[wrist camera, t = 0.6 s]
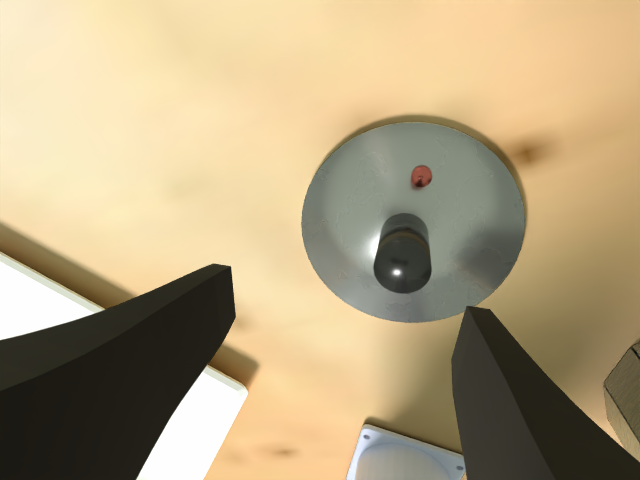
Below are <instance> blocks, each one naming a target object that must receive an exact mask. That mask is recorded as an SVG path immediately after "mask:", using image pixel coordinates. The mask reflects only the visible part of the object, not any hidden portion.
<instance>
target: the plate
mask: <svg viewBox="0 0 640 480" xmlns="http://www.w3.org/2000/svg"><path fill="white" fill-rule="evenodd" d="M103 310H105V308H103V307H101V306H99V305H97V304H95V303H94V302H92V301H90V300H88V299H86V298H84V297H83V296H81V295H79V294H77V293H75V292H73V291H72V290H70V289H68V288H66V287H64V286H62V285H61V284H59V283H57V282H55V281H53V280H51V279H50V278H48V277H46V276H44V275H42V274H40V273H39V272H37V271H35V270H33V269H31V268H29V267H28V266H26V265H24V264H22V263H20V262H18V261H17V260H15V259H13V258H11V257H9V256H7V255H6V254H4V253H2V252H0V340H2V339H7V338H11V337H15V336H19V335H23V334H27V333H31V332H34V331H38V330H42V329H45V328H49V327H52V326H56V325H60V324H63V323H67V322H70V321H73V320H76V319H79V318H82V317H85V316H88V315H91V314H94V313H97V312H100V311H103ZM247 395H248V391H247V389H246V388H245V386H244V385H243V384H242V383H240V382H238V381H236V380H235V379H233V378H231V377H229V376H227V375H225V374H224V373H222V372H220V371H218V370H216V369H214V368H213V367H211V366H209V365H207V366H206V367H205V369H204V370H203V372H202V373H201V374H200V376H199V377H198V379H197V380H196V382H195V383H194V384H193V386H192V387H191V389H190V390H189V391H188V393H187V394H186V396H185V397H184V398H183V400H182V401H181V403H180V404H179V406H178V407H177V409H176V410H175V412H174V413H173V415H172V416H171V418H170V420H169V422H168V423H167V425H166V427H165V429H164V430H163V432H162V434H161V436H160V437H159V439H158V441H157V443H156V444H155V446H154V448H153V450H152V451H151V453H150V455H149V457H148V459H147V461H146V463H145V464H144V466H143V468H142V470H141V472H140V474H139V476H138V477H137V479H136V480H203V479H204V477H205V475H206V473H207V471H208V469H209V467H210V465H211V463H212V462H213V460H214V458H215V456H216V454H217V452H218V450H219V448H220V446H221V444H222V443H223V441H224V439H225V437H226V435H227V433H228V431H229V429H230V427H231V425H232V424H233V422H234V420H235V418H236V416H237V414H238V412H239V410H240V408H241V406H242V405H243V403H244V401H245V399H246V397H247Z"/></svg>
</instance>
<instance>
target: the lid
mask: <svg viewBox="0 0 640 480" xmlns="http://www.w3.org/2000/svg"><path fill="white" fill-rule="evenodd" d="M301 224H302V236H303V241H304V246H305V249H306V252H307V255H308V258H309V260H310V262H311V264H312V266H313V268H314V270H315V271H316V273H317V274H318V276H319V277H320V279H321V280H322V281H323V282H324V284H325V285H326V286H327V287H328V288H329V289H330V290H331V291H332V292H333V293H334V294H335V295H336V296H338V297H339V298H340V299H342V300H343V301H344V302H346V303H347V304H349V305H350V306H352V307H354V308H356V309H357V310H360V311H362V312H364V313H366V314H368V315H371V316H374V317H378V318H381V319H385V320H390V321H396V322H405V323H419V322H430V321H435V320H440V319H445V318H448V317H451V316H454V315H457V314H459V313H462V312H464V311H465V310H466V306H472V307H473V306H475V305H477V304H478V303H480V302H482V301H483V300H484V299H485V298H487V297H488V296H489V295H491V294H492V293H493V292H494V291H495V290H496V289H497V288H498V287H499V286H500V285H501V284H502V282H503V281H504V280H505V278H506V277H507V276H508V274H509V273H510V271H511V269H512V268H513V266H514V264H515V262H516V260H517V258H518V255H519V252H520V250H521V246H522V242H523V237H524V227H525V216H524V207H523V202H522V199H521V195H520V191H519V189H518V187H517V185H516V183H515V180H514V178H513V177H512V175H511V174H510V172H509V171H508V169H507V168H506V166H505V165H504V164H503V162H502V161H501V160H500V159H499V158H498V157H497V156H496V155H495V154H494V153H493V152H492V151H491V150H490V149H488V148H487V147H486V146H485V145H483V144H482V143H481V142H479V141H478V140H476V139H474V138H473V137H471V136H469V135H468V134H466V133H463V132H461V131H458V130H456V129H453V128H451V127H447V126H443V125H439V124H434V123H425V122H401V123H394V124H388V125H384V126H381V127H377V128H374V129H371V130H369V131H366V132H364V133H362V134H360V135H358V136H356V137H354V138H353V139H351V140H349V141H348V142H346V143H345V144H343V145H342V146H341V147H340V148H339V149H337V150H336V151H335V152H334V153H333V154H332V155H331V156H330V157H329V158H328V159H327V160H326V161H325V162H324V163H323V164H322V166H321V167H320V169H319V170H318V171H317V173H316V174H315V176H314V178H313V180H312V182H311V184H310V186H309V188H308V191H307V194H306V197H305V200H304V205H303V210H302V222H301Z"/></svg>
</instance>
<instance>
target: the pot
mask: <svg viewBox="0 0 640 480" xmlns="http://www.w3.org/2000/svg"><path fill="white" fill-rule="evenodd" d="M632 347H633V348H634V349H632V348H630V349H629V350H628V351H627V353H626V354H625V355H624V357H623V358H622V359H621V361H620V362H619V363H618V365H617V366H616V367H615V369H614V370H613V371H612V373H611V374H610V375H609V377H608V378H607V379H606V381H605V382H604V384H605V385H603V387H604V395H605V403H606V411H607V419H608V420H609V422H610V424H611V426H612V427H613V429H614V431H615V433H616V434H617V436H618V438H619V440H620V442H621V443H622V445H623V447H624V449H625V450H626V451H627V452H628V453H630V454H631V455H632V456H633V457H634V458H636V459H637V460H638V461H639V462H640V343H638V344H636V345H634V346H632Z"/></svg>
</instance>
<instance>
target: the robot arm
mask: <svg viewBox="0 0 640 480" xmlns="http://www.w3.org/2000/svg"><path fill="white" fill-rule="evenodd" d="M235 318H236V314H235V304H234V293H233V283H232V273H231V266H225V265H219V264H211V265H208V266H206V267H203V268H201V269H199V270H196V271H194V272H192V273H190V274H187V275H185V276H183V277H181V278H179V279H176V280H174V281H172V282H170V283H168V284H165V285H163V286H161V287H159V288H157V289H154V290H152V291H150V292H147V293H145V294H143V295H140V296H138V297H135V298H133V299H131V300H128V301H126V302H123V303H121V304H119V305H116V306H114V307H111V308H108V309H105V310H103V311H100V312H97V313H94V314H91V315H88V316H85V317H82V318H79V319H76V320H73V321H70V322H67V323H63V324H60V325H56V326H52V327H49V328H45V329H42V330H38V331H34V332H31V333H27V334H23V335H19V336H15V337H11V338H7V339H2V340H0V480H136V479H137V477H138V476H139V474H140V472H141V470H142V468H143V466H144V464H145V463H146V461H147V459H148V457H149V455H150V453H151V451H152V450H153V448H154V446H155V444H156V443H157V441H158V439H159V437H160V436H161V434H162V432H163V430H164V429H165V427H166V425H167V423H168V422H169V420H170V418H171V416H172V415H173V413H174V412H175V410H176V409H177V407H178V406H179V404H180V403H181V401H182V400H183V398H184V397H185V396H186V394H187V393H188V391H189V390H190V389H191V387H192V386H193V384H194V383H195V382H196V380H197V379H198V377H199V376H200V374H201V373H202V372H203V370H204V369H205V367H206V366H207V365H208V363H209V362H210V360H211V359H212V357H213V356H214V355H215V353H216V352H217V350H218V349H219V347H220V346H221V344H222V343H223V341H224V339H225V337H226V335H227V333H228V332H229V330H230V328H231V326H232V324H233V322H234V320H235ZM452 386H453V397H454V404H455V410H456V416H457V422H458V428H459V434H460V439H461V445H462V451H463V455H461V454H458V453H455V452H452V451H449V450H446V449H443V448H439V447H436V446H433V445H430V444H427V443H424V442H421V441H418V440H415V439H412V438H409V437H406V436H403V435H400V434H397V433H394V432H391V431H388V430H385V429H382V428H379V427H375V426H372V425H369V424H365V425H363V426H362V429H361V432H360V435H359V438H358V441H357V445H356V448H355V451H354V454H353V457H352V460H351V463H350V467H349V470H348V473H347V476H346V479H345V480H461V478H462V476H463V475H464V473H465V471H466V475H467V480H640V462H639V461H638V460H637V459H636V458H634V457H633V456H632V455H631V454H630V453H628V452H627V451H626V450H625V449H624V448H623V447H621V446H620V445H619V444H618V443H617V442H616V441H615V440H613V439H612V438H611V437H610V436H609V435H608V434H607V433H606V432H605V431H603V430H602V429H601V428H600V427H599V426H598V425H597V424H596V423H595V422H594V421H592V420H591V419H590V418H589V417H588V416H587V415H586V414H585V413H584V412H583V411H582V410H581V409H580V408H579V407H578V406H576V405H575V404H574V403H573V402H572V401H571V400H570V399H569V398H568V396H567V395H566V394H565V393H564V392H563V391H562V390H561V389H560V388H559V387H558V386H557V385H556V384H555V383H554V382H553V381H552V380H551V379H550V378H549V377H548V376H547V375H546V374H545V373H544V372H543V371H542V369H541V368H540V367H539V366H538V365H537V364H536V363H535V362H534V361H533V359H532V358H531V357H530V356H529V355H528V354H527V353H526V352H525V350H524V349H523V348H522V347H521V346H520V345H519V343H518V342H517V341H516V340H515V339H514V337H513V336H512V335H511V334H510V333H509V331H508V330H507V329H506V328H505V327H504V325H503V324H502V323H501V322H500V321H499V319H498V318H497V317H496V316H495V315H494V314H493V312H492V311H491V310H490V309H484V308H478V307H472V306H466V310H465V313H464V317H463V320H462V324H461V327H460V331H459V335H458V338H457V342H456V345H455V349H454V353H453V356H452Z"/></svg>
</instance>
